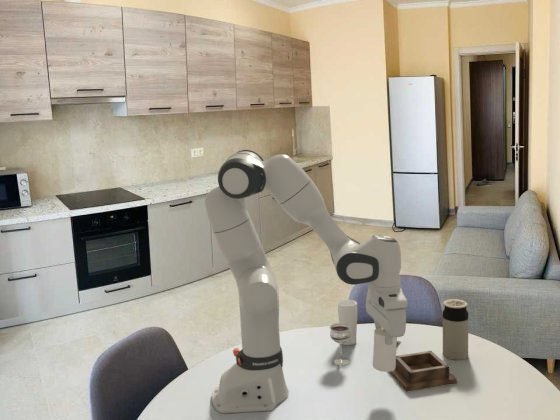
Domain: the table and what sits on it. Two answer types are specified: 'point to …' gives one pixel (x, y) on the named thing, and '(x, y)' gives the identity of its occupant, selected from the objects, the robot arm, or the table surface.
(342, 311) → the drinking glass
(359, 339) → the table surface
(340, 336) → the wineglass
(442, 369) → the candle holder
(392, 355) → the candle
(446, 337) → the travel mug
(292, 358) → the table surface
